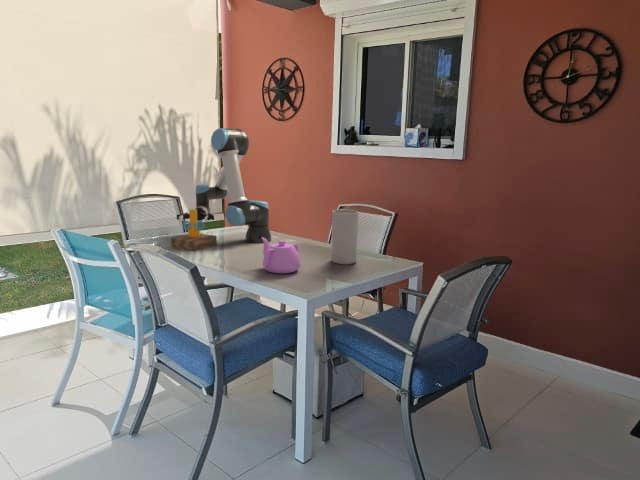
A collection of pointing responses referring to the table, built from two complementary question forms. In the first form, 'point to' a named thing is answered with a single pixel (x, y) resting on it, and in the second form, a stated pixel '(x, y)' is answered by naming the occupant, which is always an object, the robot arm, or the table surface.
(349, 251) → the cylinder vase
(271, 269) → the teapot
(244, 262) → the table surface
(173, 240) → the walnut block
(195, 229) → the orange blue tall piece
